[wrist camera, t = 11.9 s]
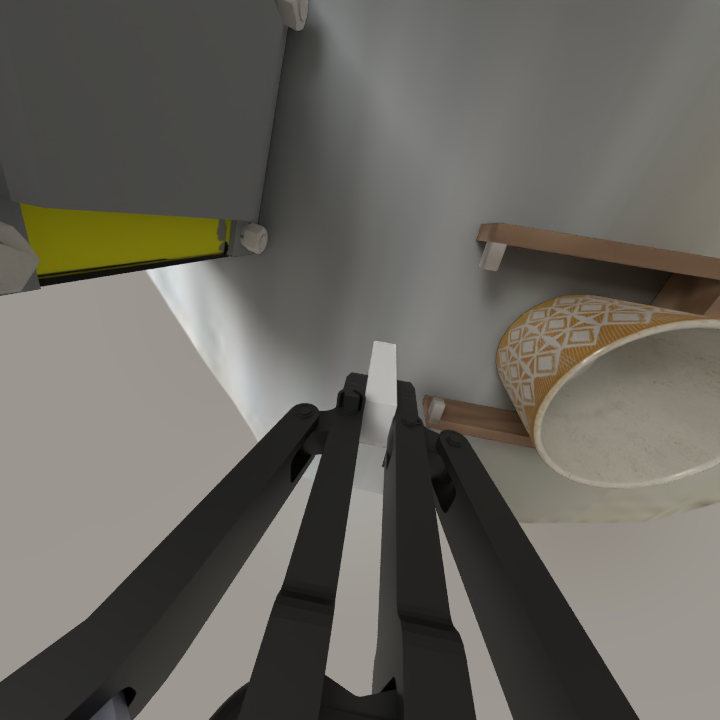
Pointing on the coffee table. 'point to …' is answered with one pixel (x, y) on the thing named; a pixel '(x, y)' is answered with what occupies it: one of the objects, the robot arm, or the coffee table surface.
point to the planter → (616, 389)
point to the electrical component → (134, 133)
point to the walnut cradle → (681, 291)
